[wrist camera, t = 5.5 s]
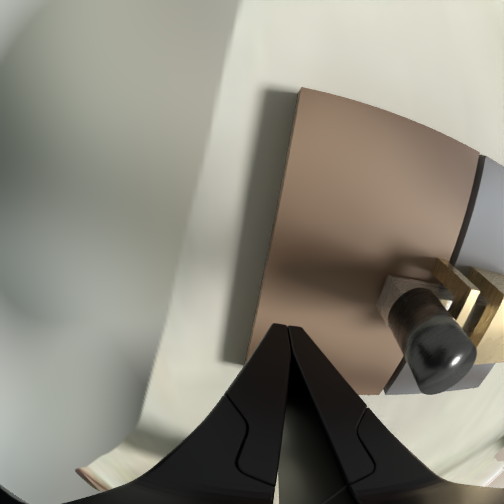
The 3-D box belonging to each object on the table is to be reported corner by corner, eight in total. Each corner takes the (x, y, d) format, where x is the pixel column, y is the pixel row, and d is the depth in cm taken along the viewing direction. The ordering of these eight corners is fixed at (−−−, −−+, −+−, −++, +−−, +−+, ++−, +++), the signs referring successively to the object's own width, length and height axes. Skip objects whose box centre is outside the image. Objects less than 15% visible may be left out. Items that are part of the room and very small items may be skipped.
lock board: (470, 375, 16) (478, 387, 15) (243, 366, 16) (241, 383, 15) (549, 203, 11) (562, 209, 9) (298, 93, 11) (301, 87, 9)
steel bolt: (479, 323, 12) (522, 379, 7) (369, 312, 12) (406, 396, 7) (497, 288, 11) (548, 340, 7) (387, 266, 11) (442, 342, 7)
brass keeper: (482, 331, 13) (505, 361, 10) (407, 326, 13) (429, 366, 10) (509, 276, 11) (539, 301, 8) (437, 257, 11) (471, 289, 8)
